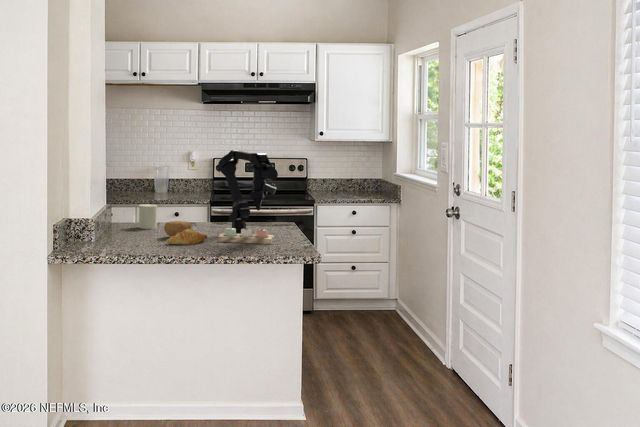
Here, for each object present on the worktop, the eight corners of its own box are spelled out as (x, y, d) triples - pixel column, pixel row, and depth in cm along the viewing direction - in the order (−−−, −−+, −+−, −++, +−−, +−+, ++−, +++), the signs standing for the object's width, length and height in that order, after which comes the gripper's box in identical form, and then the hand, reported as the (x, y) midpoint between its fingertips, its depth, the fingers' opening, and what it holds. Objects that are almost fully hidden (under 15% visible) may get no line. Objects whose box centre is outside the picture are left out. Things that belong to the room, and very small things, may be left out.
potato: (196, 237, 385) (196, 221, 384) (170, 239, 376) (170, 223, 375) (185, 234, 393) (185, 218, 392) (159, 236, 383) (160, 220, 382)
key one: (224, 240, 379) (224, 228, 378) (226, 239, 383) (226, 227, 383) (234, 241, 378) (235, 229, 378) (236, 239, 383) (236, 227, 383)
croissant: (170, 253, 361) (174, 239, 357) (159, 240, 367) (163, 226, 363) (209, 248, 375) (214, 234, 371) (198, 235, 381) (203, 222, 377)
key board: (217, 241, 376) (218, 236, 375) (221, 238, 387) (222, 233, 386) (271, 243, 375) (271, 238, 374) (273, 240, 385) (273, 235, 385)
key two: (240, 241, 378) (240, 229, 378) (241, 239, 383) (241, 228, 382) (250, 242, 378) (250, 230, 377) (252, 240, 383) (252, 228, 382)
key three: (255, 242, 378) (256, 230, 377) (257, 240, 383) (257, 228, 382) (266, 242, 378) (266, 230, 377) (267, 241, 383) (268, 229, 382)
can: (160, 227, 413) (161, 204, 412) (147, 229, 405) (148, 205, 404) (147, 225, 418) (147, 202, 417) (134, 227, 410) (134, 204, 409)
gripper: (273, 180, 382) (272, 213, 384) (277, 177, 400) (276, 208, 402) (250, 180, 382) (249, 212, 384) (255, 176, 401) (254, 207, 403)
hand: (258, 210), depth 393 cm, fingers closed
